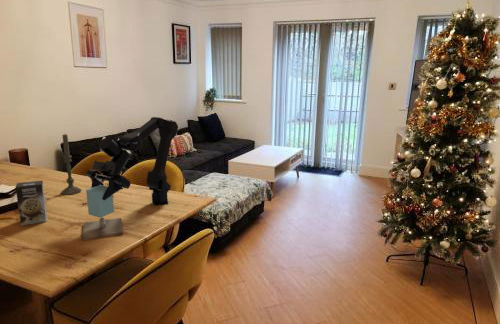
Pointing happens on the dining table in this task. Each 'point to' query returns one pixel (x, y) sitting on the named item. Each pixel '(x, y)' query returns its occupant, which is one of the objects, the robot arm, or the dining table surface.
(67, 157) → the candlestick holder
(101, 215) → the light blue rectangular block
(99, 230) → the post board
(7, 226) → the dining table surface
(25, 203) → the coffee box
